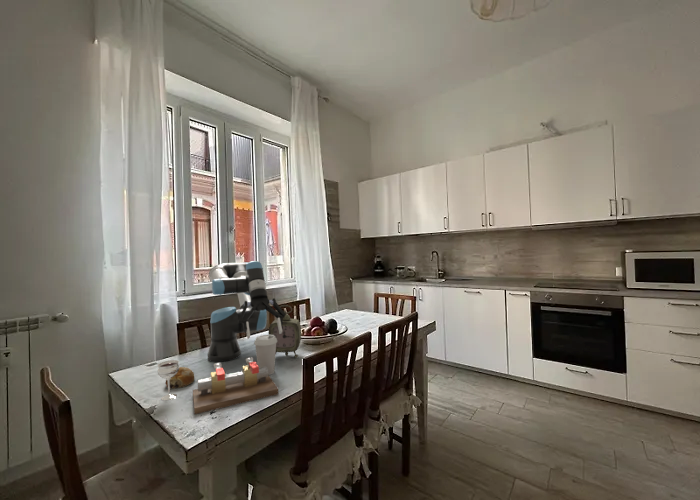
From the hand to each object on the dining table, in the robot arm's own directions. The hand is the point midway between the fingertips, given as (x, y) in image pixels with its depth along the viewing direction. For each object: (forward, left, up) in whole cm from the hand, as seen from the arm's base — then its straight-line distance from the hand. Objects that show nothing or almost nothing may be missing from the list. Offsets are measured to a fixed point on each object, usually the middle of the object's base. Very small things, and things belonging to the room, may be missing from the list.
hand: (265, 335), depth 134 cm
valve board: (+17, -15, -15) cm, 27 cm away
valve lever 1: (+19, -20, -6) cm, 28 cm away
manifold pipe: (+14, -15, -13) cm, 24 cm away
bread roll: (-5, -32, -16) cm, 36 cm away
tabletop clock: (-13, +13, -16) cm, 24 cm away
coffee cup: (+2, 0, -16) cm, 16 cm away
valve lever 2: (+19, -9, -6) cm, 22 cm away
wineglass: (+6, -36, -16) cm, 40 cm away
